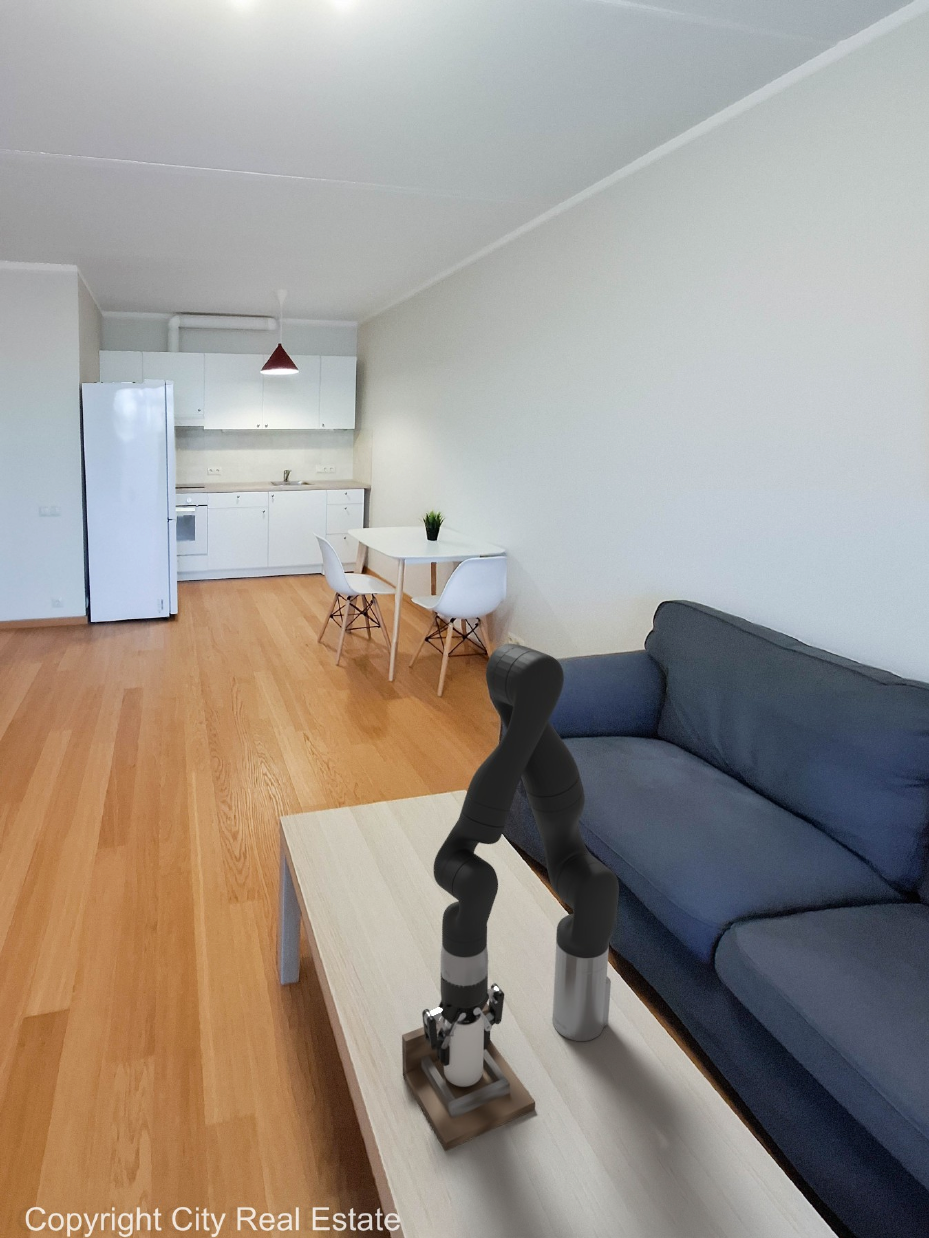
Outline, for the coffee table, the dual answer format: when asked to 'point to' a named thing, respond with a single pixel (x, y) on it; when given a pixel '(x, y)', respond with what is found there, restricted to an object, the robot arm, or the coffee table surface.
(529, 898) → the coffee table surface
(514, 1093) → the wall board
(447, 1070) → the can
